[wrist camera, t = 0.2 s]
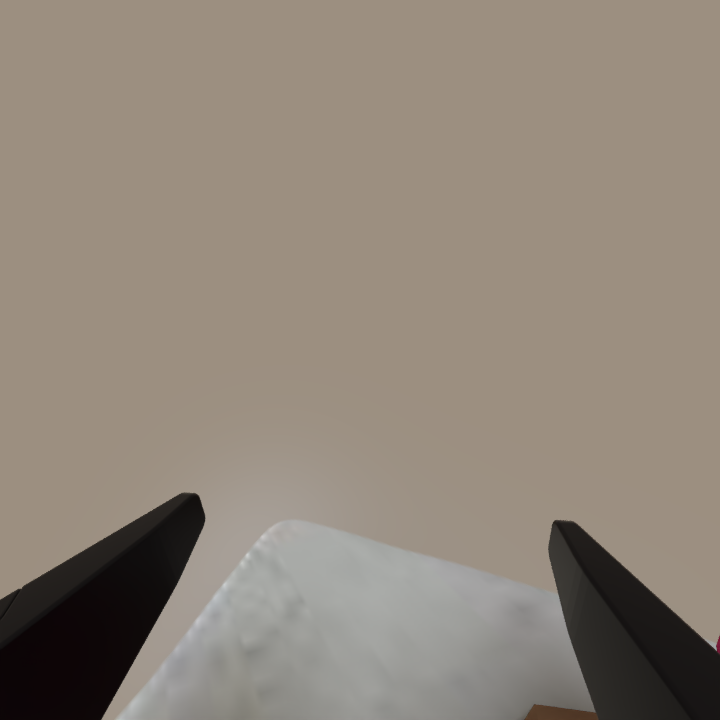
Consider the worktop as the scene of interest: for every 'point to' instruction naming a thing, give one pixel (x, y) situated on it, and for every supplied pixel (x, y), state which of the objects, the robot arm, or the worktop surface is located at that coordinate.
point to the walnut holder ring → (558, 714)
